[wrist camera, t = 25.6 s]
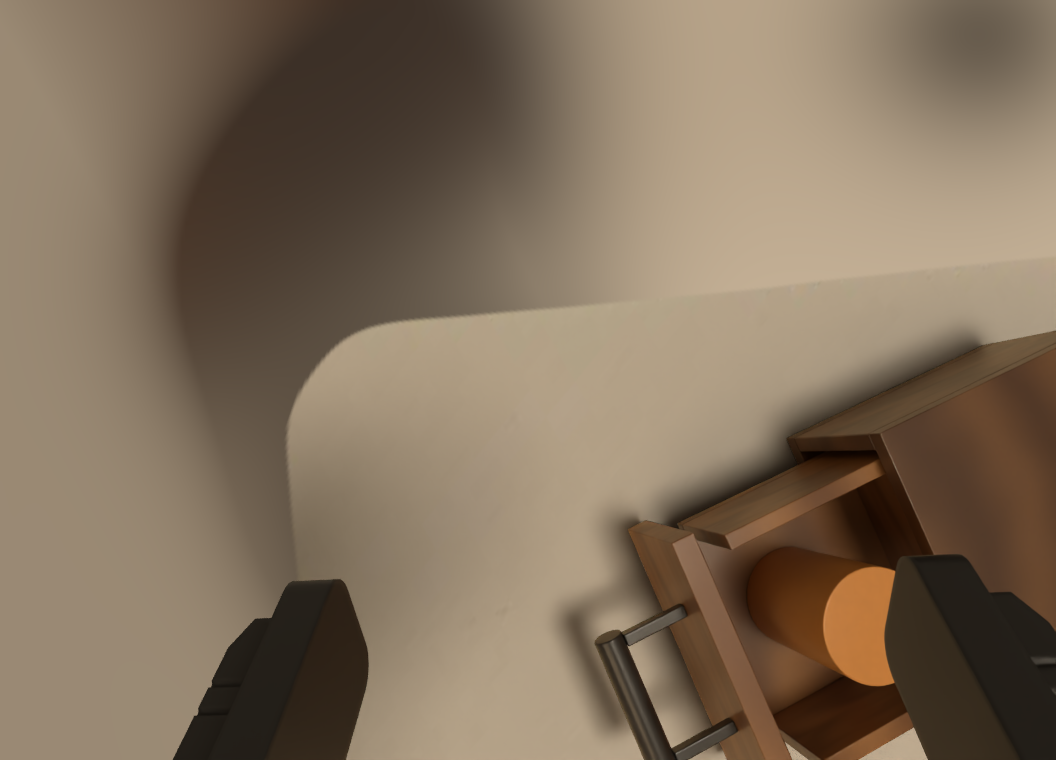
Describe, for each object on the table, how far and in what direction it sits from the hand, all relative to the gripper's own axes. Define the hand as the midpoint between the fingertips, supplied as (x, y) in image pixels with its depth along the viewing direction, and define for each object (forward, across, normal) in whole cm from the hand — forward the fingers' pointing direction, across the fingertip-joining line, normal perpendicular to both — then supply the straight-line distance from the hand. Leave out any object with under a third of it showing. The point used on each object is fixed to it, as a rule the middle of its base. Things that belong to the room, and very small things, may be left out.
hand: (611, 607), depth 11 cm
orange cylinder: (+22, -9, +23) cm, 33 cm away
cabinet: (+28, -20, +23) cm, 41 cm away
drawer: (+21, -7, +24) cm, 33 cm away
